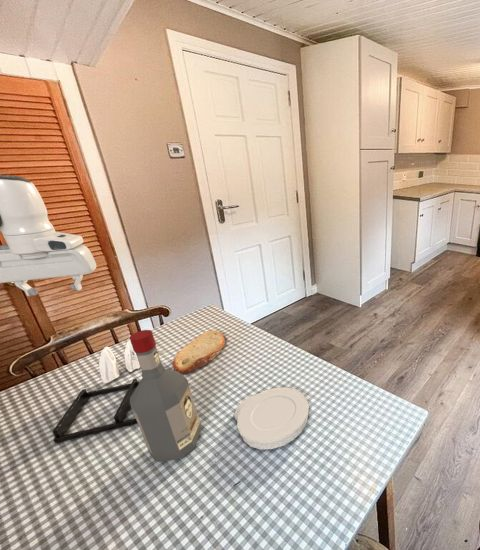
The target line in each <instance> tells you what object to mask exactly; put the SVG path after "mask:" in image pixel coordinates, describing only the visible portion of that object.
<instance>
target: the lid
mask: <svg viewBox="0 0 480 550" xmlns="http://www.w3.org/2000/svg"><path fill="white" fill-rule="evenodd" d="M309 406H310V405H309V402H308V399H307V397H306V396H305V395H304V394H303V392H300V391H299V390H298V389H295V388H291V387H288V386H287V387H285V386H283V387H273V388H270V389H266V390H264V391H262V392H260V393H255V394H253V395H250V396H247V398H245V399H243V400H242V401H241V402H240V403H239V404H238V405H237V407H236V408H235V411H234V414H233V417H234V419H235V420H236V422H237V423H236V427H237V430H238V432H239V436H241V438H242V440H243V442H245V443H246V444H247V445H248V447H251V448H254V449H258V450H274V449H278V448H281V447H283V446H285V445H287V444H289V443H291V442H292V441H294V440H295V439H296V438H297V437H298V436H299V435H300V434H301V433H302V432H303V431H304V429H305V427H306V425H307V423H308V417H309V411H310V407H309Z"/></svg>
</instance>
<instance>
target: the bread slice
mask: <svg viewBox="0 0 480 550" xmlns="http://www.w3.org/2000/svg"><path fill="white" fill-rule="evenodd" d="M225 345H226V338H225V336H224V334H223V333H222V332H220V331H217V330H208V331H206V332H203V333H202V334H200V335H198V336H196V338H194V339H193V340H191V341H190V342H189V343H188V344H186V345H185V346H184V347H183V348H182V349H181V350H179V351H178V352H177V353H176V355H175V357H174V358H173V361H172V369H173V371H177V372H179V373H181V374H182V375H183V374H190V373H193V372H194V371H195V370H197V369H199V368H201V367H204V366H206V365H208V364H209V363H211V362H212V361H213V360H214V359H216V358H217V357H218V356H219V354H220V353H221V351H222V349H224V347H225Z"/></svg>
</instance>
